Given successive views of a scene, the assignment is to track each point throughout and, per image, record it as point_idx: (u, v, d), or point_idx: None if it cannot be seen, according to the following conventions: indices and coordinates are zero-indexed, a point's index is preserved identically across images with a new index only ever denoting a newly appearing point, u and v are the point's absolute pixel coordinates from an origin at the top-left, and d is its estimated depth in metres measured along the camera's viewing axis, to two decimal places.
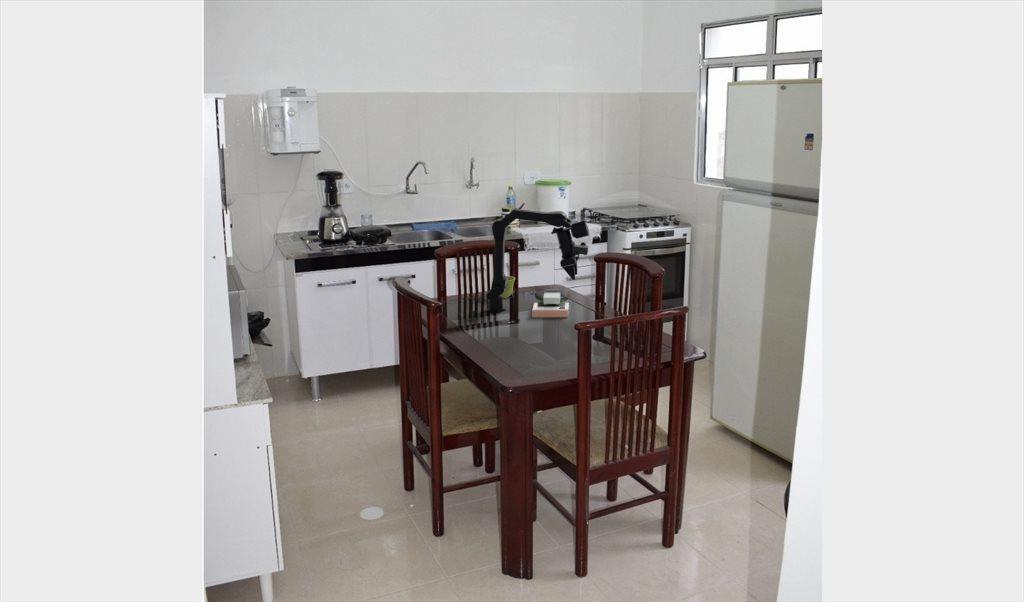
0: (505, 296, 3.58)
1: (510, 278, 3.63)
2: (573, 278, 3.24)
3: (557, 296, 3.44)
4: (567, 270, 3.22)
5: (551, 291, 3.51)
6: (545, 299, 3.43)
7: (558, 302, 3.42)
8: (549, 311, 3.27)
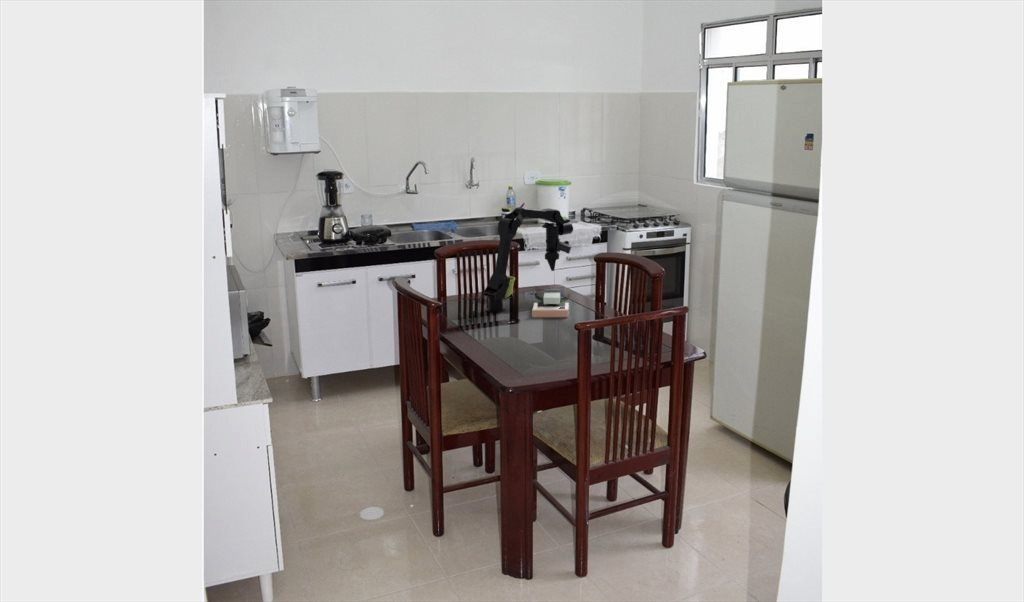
0: (505, 296, 3.58)
1: (510, 278, 3.63)
2: (552, 269, 3.56)
3: (557, 296, 3.44)
4: (549, 261, 3.54)
5: (551, 291, 3.51)
6: (545, 299, 3.43)
7: (558, 302, 3.42)
8: (549, 311, 3.27)
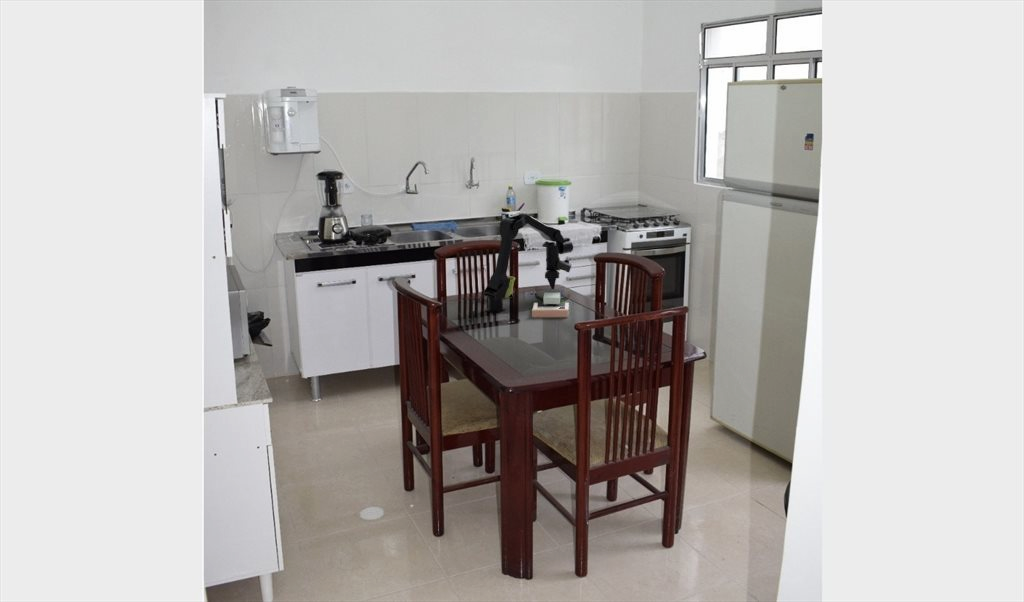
0: (505, 296, 3.58)
1: (510, 278, 3.63)
2: (552, 288, 3.57)
3: (557, 296, 3.44)
4: (549, 280, 3.55)
5: (551, 291, 3.51)
6: (545, 299, 3.43)
7: (558, 302, 3.42)
8: (549, 311, 3.27)
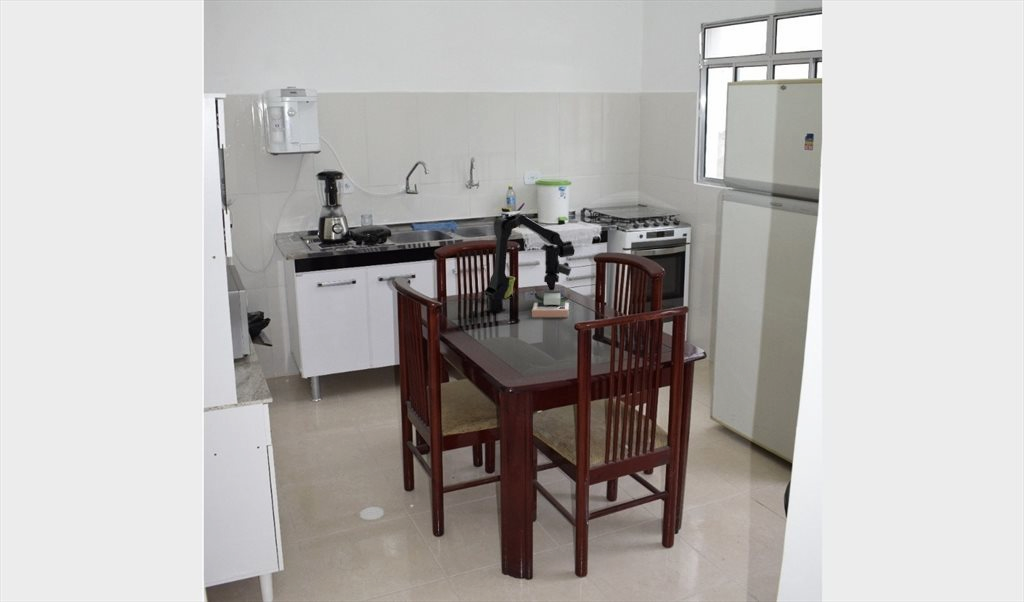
0: (505, 296, 3.58)
1: (510, 278, 3.63)
2: None
3: (557, 297, 3.43)
4: (548, 283, 3.49)
5: (551, 292, 3.50)
6: (545, 300, 3.41)
7: (558, 303, 3.41)
8: (549, 311, 3.27)
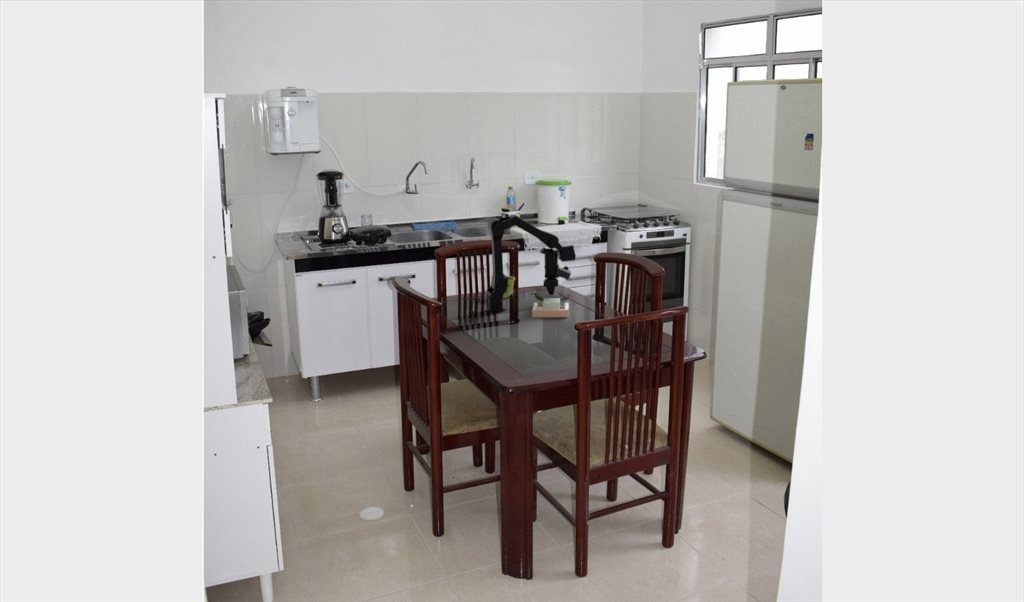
0: (505, 296, 3.58)
1: (510, 278, 3.63)
2: None
3: (557, 301, 3.35)
4: (548, 287, 3.41)
5: (551, 296, 3.42)
6: (545, 304, 3.34)
7: (558, 307, 3.33)
8: (549, 311, 3.27)
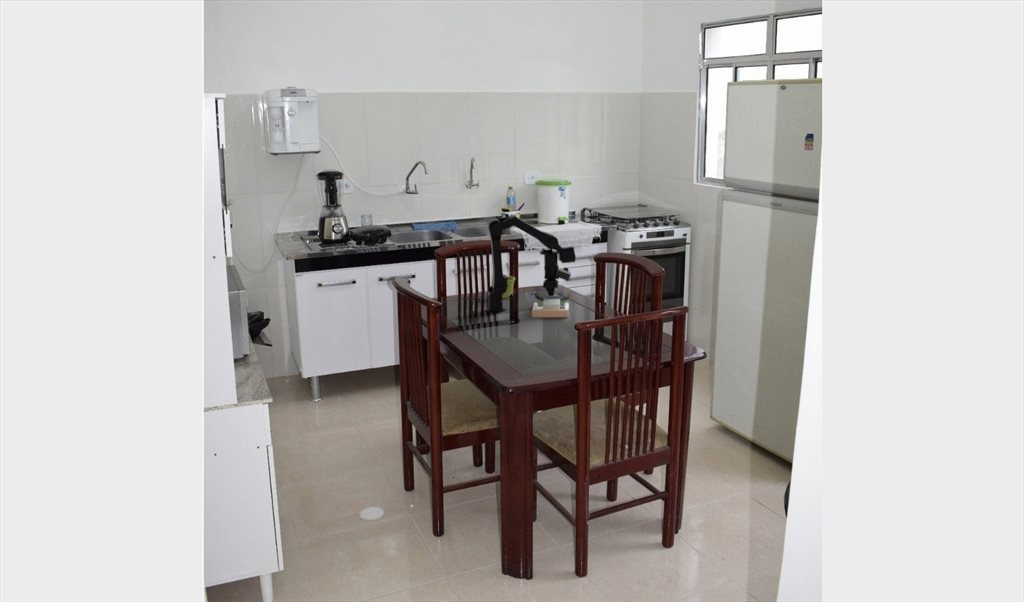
0: (505, 296, 3.58)
1: (510, 278, 3.63)
2: None
3: (557, 303, 3.33)
4: (548, 289, 3.39)
5: (551, 297, 3.40)
6: (544, 306, 3.31)
7: None
8: (549, 311, 3.27)
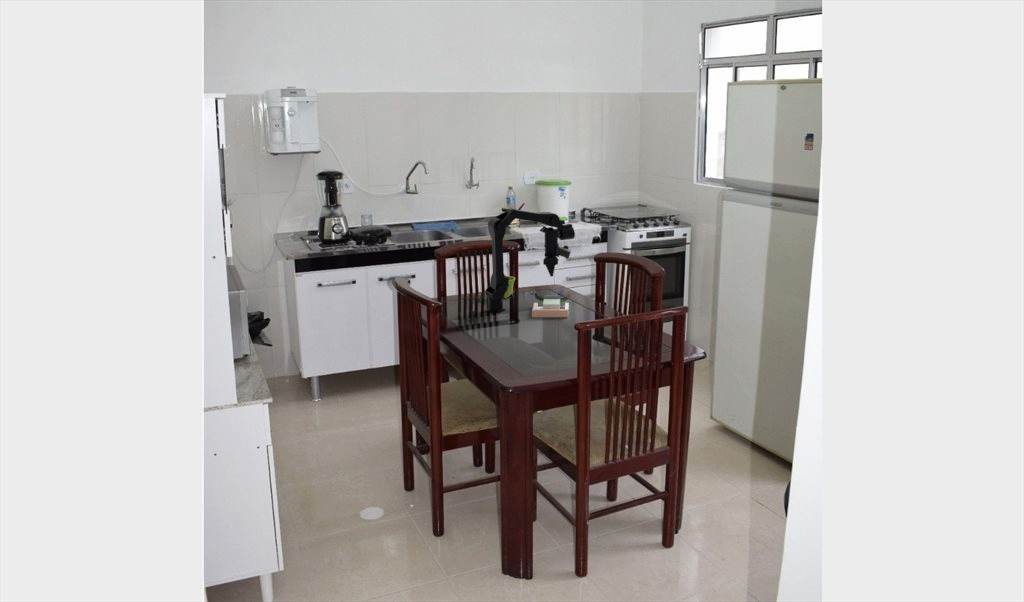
0: (505, 296, 3.58)
1: (510, 278, 3.63)
2: (551, 275, 3.45)
3: (557, 303, 3.33)
4: (548, 266, 3.43)
5: (551, 297, 3.40)
6: (544, 306, 3.31)
7: None
8: (549, 311, 3.27)
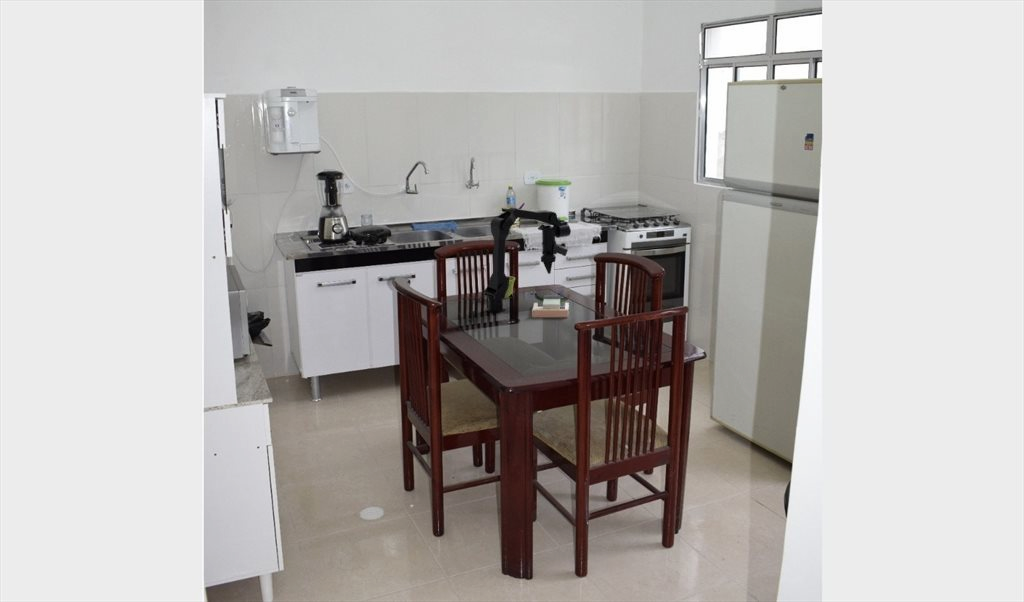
0: (505, 296, 3.58)
1: (510, 278, 3.63)
2: (549, 272, 3.51)
3: (557, 303, 3.33)
4: (545, 264, 3.49)
5: (551, 297, 3.40)
6: (544, 306, 3.31)
7: None
8: (549, 311, 3.27)
